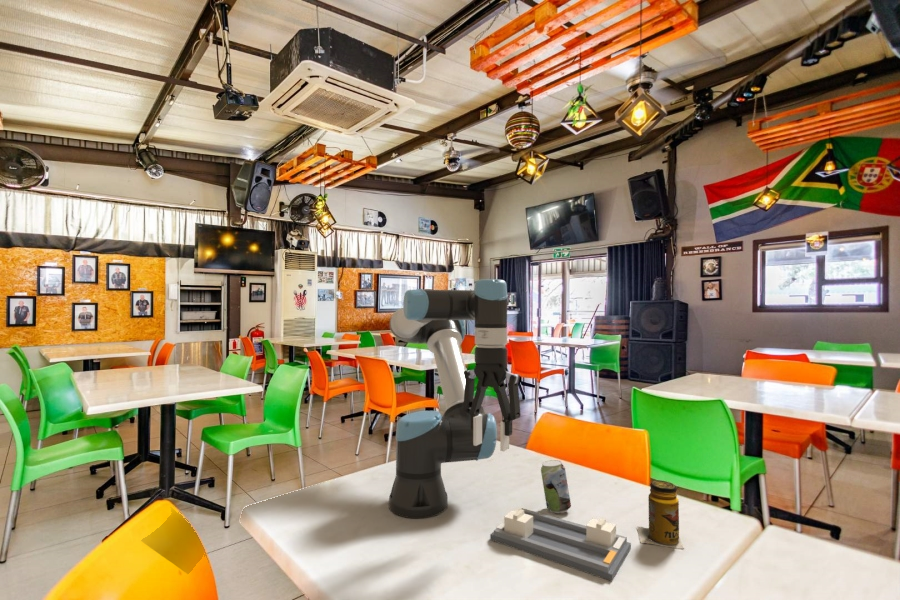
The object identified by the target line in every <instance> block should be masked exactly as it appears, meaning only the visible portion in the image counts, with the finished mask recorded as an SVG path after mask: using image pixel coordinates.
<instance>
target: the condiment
mask: <svg viewBox="0 0 900 600" xmlns="http://www.w3.org/2000/svg"><path fill="white" fill-rule="evenodd" d="M649 486H650V488H649V491H650V493H649V494H648V527H644V526H637V527H636V528H637V533H638V537H639V542H640V543H642V544H648V545H656V546H661V547H667V548H672V549H673V548H674V549H682V550H683V549H684V546H683V544H682V541H681V538H680V515H679V514H680V513H679V511H680V509H679V506H680V503H679V498H678V497H677V496H678V493H677V490H678V489H677V486H676V485H675V484H674V483H672V482H670V481H667V480H666V481H665V480H653V481H650V483H649Z"/></svg>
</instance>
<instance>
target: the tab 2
mask: <svg viewBox="0 0 900 600" xmlns="http://www.w3.org/2000/svg"><path fill="white" fill-rule="evenodd" d="M585 526H586V540H587V541H591V542H594V543H597V544H601V545H604V546H607V547H611V548H613V546H614V544H615V543H616V534H617V524H614V523H611V522H607V519H606V518H604V517H600V519H596V518H593V517H592V519H590V520H589V522H588V523H587V524H586V525H585Z"/></svg>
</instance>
